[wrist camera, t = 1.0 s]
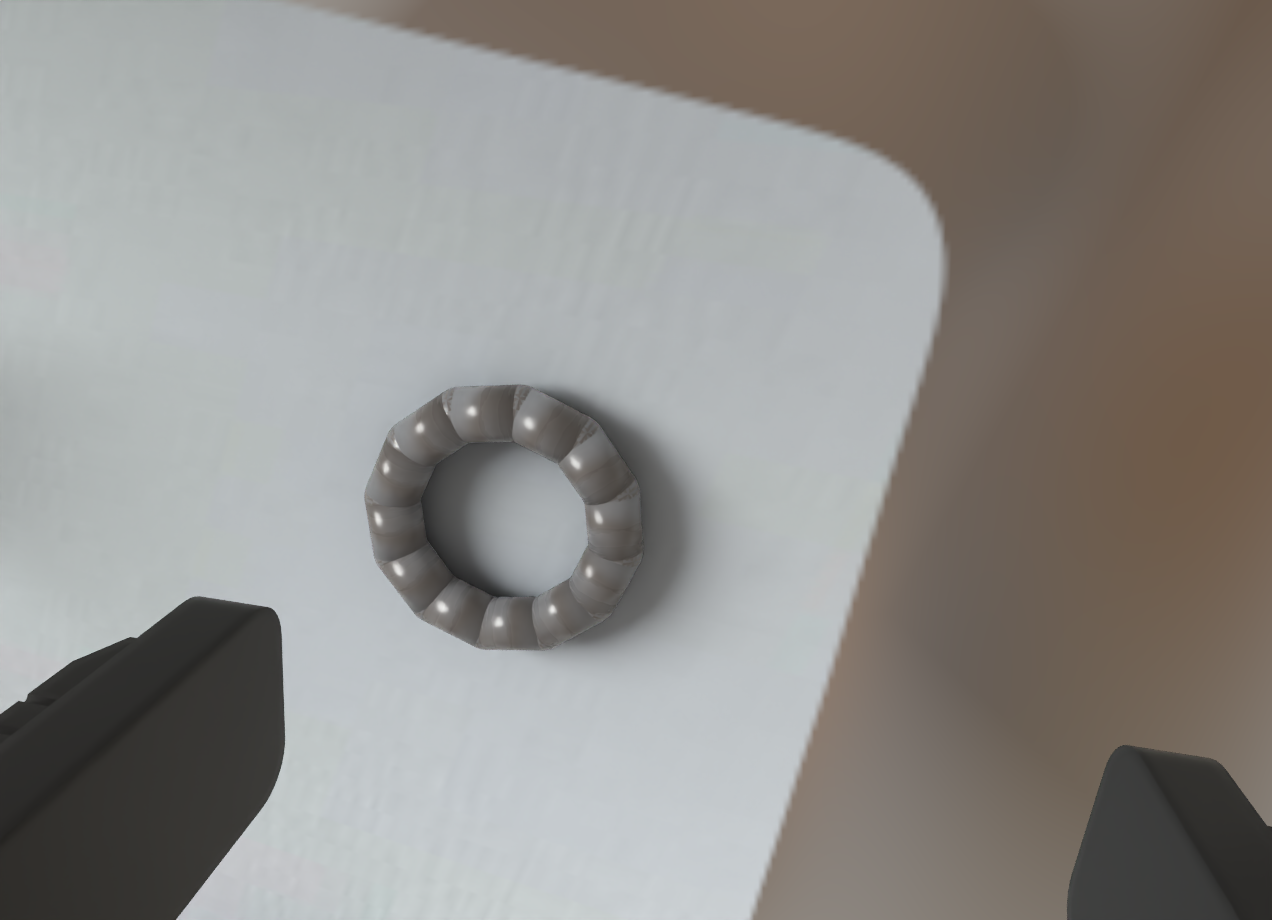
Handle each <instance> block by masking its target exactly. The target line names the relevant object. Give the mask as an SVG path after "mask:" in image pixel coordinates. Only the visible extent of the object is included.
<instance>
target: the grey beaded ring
mask: <svg viewBox="0 0 1272 920" xmlns="http://www.w3.org/2000/svg"><path fill="white" fill-rule="evenodd" d="M478 442H516V443H518V444H520V445H522V446H524V447H526V448H528V449H530V450H531V451H533V452H535V453H537V454H539V455H541V456H543V457H545V458H547V459H549V460H551V461H553V462H555V463H557V464H558V465H559V467H560V468H561V469H562V471H563V472H564V474H565V475H566V477H567V478H568V480H569V481H570V482H571V484H572V485H573V487H574V488H575V490H576V491H577V492H578V494H579V495H580V497H581V498H582V500H583V501H584V503H585V512H586V524H587V535H588V546H587V548H586V550H585V551H584V553H583V555H582V557H581V559H580V561H579V563H578V565H577V567H576V569H575V571H574V572H573V574H572V576H571V578H569V579H568V580H566V581H564V582H562V583H561V584H559V585H557V586H555V587H553V588H552V589H550V590H548V591H546V592H545V593H543V594H541V595H539V596H538V597H494V596H492V595H490V594H488V593H486V592H484V591H482V590H480V589H478V588H476V587H474V586H472V585H470V584H468V583H466V582H464V581H462V580H461V579H459V578H457V577H455V576H453V574H452V573H451V572H450V570H449V569H448V568H447V566H446V565H445V564H444V562H443V561H442V560H441V558H440V557H439V556H438V554H437V553H436V552H435V550H434V549H433V548H432V546H431V545H430V544H429V542H428V541H427V538H426V531H425V524H424V517H423V510H422V503H421V498H422V495H423V493H424V491H425V489H426V486H427V484H428V482H429V480H430V477H431V475H432V473H433V470H434V468H435V466H436V464H437V463H439V462H440V461H442V460H443V459H445V458H447V457H448V456H450V455H451V454H453V453H454V452H456V451H457V450H459V449H461V448H462V447H464V446H465V445H467V444H468V443H478ZM365 504H366V510H367V516H368V522H369V528H370V534H371V540H372V547H373V553H374V558H375V561H376V563H377V565H378V566H379V568H380V569H381V570H382V572H383V573H384V574H385V575H386V577H387V578H388V579H389V581H390V582H391V583H392V585H393V586H394V587H395V589H396V590H397V591H398V593H399V594H400V595H401V597H402V598H403V599H404V600H405V602H406V603H407V604H408V606H409V607H410V608H411V610H412V611H413V612H414V614H415V615H416V616H417V617H418V618H420V619H421V620H423V621H425V622H427V623H429V624H431V625H433V626H435V627H437V628H439V629H441V630H443V631H445V632H447V633H449V634H451V635H453V636H455V637H457V638H459V639H461V640H462V641H464V642H466V643H468V644H470V645H472V646H474V647H476V648H479V649H486V650H549V649H552V648H555V647H557V646H558V645H560V644H562V643H564V642H566V641H568V640H569V639H571V638H573V637H575V636H577V635H579V634H580V633H582V632H584V631H586V630H588V629H590V628H592V627H593V626H595V625H597V624H599V623H601V622H603V621H604V620H606V619H607V618H608V617H609V616H610V615H611V614H612V613H613V611H614V610H615V608H616V606H617V604H618V602H619V600H620V599H621V597H622V595H623V593H624V591H625V590H626V588H627V586H628V584H629V582H630V581H631V579H632V577H633V575H634V573H635V572H636V570H637V568H638V566H639V564H640V562H641V560H642V558H643V551H644V550H643V549H644V547H643V532H642V517H641V503H640V490H639V485H638V482H637V480H636V478H635V477H634V475H633V474H632V472H631V471H630V469H629V468H628V466H627V465H626V463H625V462H624V460H623V459H622V457H621V456H620V454H619V453H618V451H617V450H616V449H615V447H614V446H613V444H612V443H611V441H610V440H609V438H608V437H607V435H606V434H605V432H604V431H603V429H602V428H601V426H600V425H599V424H598V423H597V422H596V421H595V420H594V419H592V418H591V417H589V416H587V415H585V414H583V413H581V412H579V411H577V410H575V409H573V408H571V407H570V406H568V405H566V404H564V403H562V402H560V401H558V400H556V399H554V398H552V397H550V396H548V395H546V394H544V393H542V392H541V391H539V390H537V389H535V388H533V387H530V386H526V385H500V386H468V387H454V388H451V389H448V390H446V391H445V392H443V393H442V394H440V395H439V396H437V397H436V398H434V399H433V400H431V401H430V402H428V403H427V404H425V405H424V406H422V407H421V408H419V409H418V410H416V411H415V412H413V413H412V414H410V415H409V416H407V417H406V418H404V419H403V420H401V421H400V422H398V423H397V424H396V425H394V426H393V427H392V429H391V430H390V431H389V433H388V435H387V437H386V440H385V442H384V445H383V447H382V450H381V452H380V454H379V457H378V459H377V462H376V464H375V466H374V469H373V471H372V474H371V476H370V479H369V481H368V483H367V486H366V489H365Z"/></svg>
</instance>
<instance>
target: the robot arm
mask: <svg viewBox="0 0 1272 920" xmlns="http://www.w3.org/2000/svg"><path fill="white" fill-rule="evenodd" d="M284 747H285V723H284V694H283V665H282V636H281V626H280V621H279V618H278V616H277V614H276V613H275V611H274V610H273V609H271V608H268V607H263V606H257V605H251V604H244V603H238V602H232V601H225V600H219V599H213V598H206V597H200V596H199V597H192V598H190V599H188V600H186V601H185V602H183V603H182V604H181V605H179V606H178V607H177V608H175V609H174V610H173V611H172V612H170V613H169V614H168V615H166V616H165V617H164V618H162V619H161V620H160V621H159V622H157V623H156V624H155V625H153V626H152V627H151V628H150V629H148V630H147V631H146V632H144V633H143V634H142V635H140V636H139V637H138V638H132V637H129V638H127V639H124V640H122V641H120V642H117V643H115V644H113V645H110V646H108V647H105V648H103V649H101V650H98V651H96V652H94V653H91V654H89V655H87V656H84V657H82V658H79V659H77V660H75V661H72V662H71V663H70V664H68V665H67V666H66V667H64V668H63V669H62V670H60V671H59V672H57V673H56V674H55V675H53V676H52V677H51V678H49V679H48V680H47V681H45V682H44V683H42V684H41V685H40V686H38V687H37V688H36V689H34V690H33V691H32V692H30V693H29V694H28V697H27V700H26V701H25V702H21V701H18V702H17V703H15V704H14V705H12V706H11V707H10V708H8V709H7V710H6V711H4V712H3V713H2V714H0V920H176V919H177V918H178V916H179V915H180V914H181V912H182V911H183V910H184V909H185V907H186V906H187V905H188V903H189V902H190V901H191V899H192V898H193V897H194V896H195V894H196V893H197V892H198V890H199V889H200V888H201V887H202V885H203V884H204V883H205V881H206V880H207V879H208V877H209V876H210V875H211V874H212V872H213V871H214V870H215V868H216V867H217V866H218V865H219V863H220V862H221V861H222V859H223V858H224V857H225V855H226V854H227V853H228V852H229V850H230V849H231V848H232V846H233V845H234V844H235V842H236V841H237V840H238V839H239V837H240V836H241V835H242V833H243V832H244V831H245V830H246V828H247V827H248V826H249V824H250V823H251V822H252V820H253V819H254V818H255V817H256V815H257V814H258V813H259V811H260V810H261V809H262V807H263V806H264V805H265V803H266V802H267V800H268V798H269V796H270V794H271V792H272V790H273V788H274V786H275V783H276V781H277V778H278V775H279V772H280V769H281V765H282V761H283V755H284ZM1067 920H1272V827H1270V826H1267V825H1266V824H1265V823H1264V821H1263V820H1262V818H1261V817H1260V816H1259V814H1258V813H1257V812H1256V810H1255V809H1254V807H1253V806H1252V805H1251V804H1250V802H1249V801H1248V799H1247V798H1246V797H1245V795H1244V794H1243V793H1242V791H1241V790H1240V788H1239V787H1238V786H1237V784H1236V783H1235V781H1234V780H1233V779H1232V778H1231V776H1230V775H1229V773H1228V772H1227V771H1226V769H1225V768H1224V767H1223V766H1222V765H1221V764H1220V763H1218V762H1217V761H1216V760H1213V759H1210V758H1205V757H1198V756H1192V755H1186V754H1179V753H1172V752H1167V751H1160V750H1154V749H1148V748H1141V747H1135V746H1128V745H1123V746H1120V747H1118V748H1117V749H1116V750H1115V751H1114V752H1113V754H1112V755H1111V756H1110V758H1109V760H1108V762H1107V765H1106V768H1105V771H1104V773H1103V777H1102V780H1101V783H1100V786H1099V790H1098V793H1097V796H1096V799H1095V802H1094V805H1093V809H1092V812H1091V815H1090V818H1089V821H1088V825H1087V828H1086V831H1085V834H1084V837H1083V840H1082V844H1081V847H1080V850H1079V853H1078V856H1077V860H1076V863H1075V866H1074V869H1073V872H1072V876H1071V880H1070V884H1069V890H1068V900H1067Z"/></svg>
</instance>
